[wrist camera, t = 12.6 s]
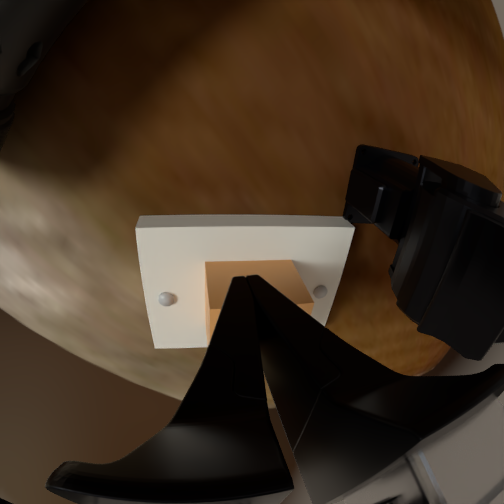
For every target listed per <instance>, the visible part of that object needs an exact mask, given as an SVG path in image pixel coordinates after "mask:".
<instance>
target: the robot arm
mask: <svg viewBox="0 0 504 504" xmlns="http://www.w3.org/2000/svg"><path fill="white" fill-rule="evenodd" d="M362 149H364V153H363V154H362V152H361V151H362ZM413 160H414V162H413ZM412 162H413V163H412ZM418 162H419V163H420V166H419V168H418ZM501 196H502V192H501V191H500V190H499V189H498V188H497V187H496V186H495V185H494V184H493V183H492V182H491V181H490V180H489V179H488V178H487V177H486V176H484V175H482V174H480V173H478V172H475V171H473V170H471V169H469V168H466V167H464V166H462V165H459V164H455V163H451V162H448V161H444V160H440V159H436V158H432V157H427V156H423V155H420V158H419V161H418V158H417V157H415V156H413V155H409V154H405V153H401V152H396V151H392V150H387V149H383V148H378V147H373V146H368V145H359V146H358V147H357V149H356V154H355V159H354V165H353V169H352V171H351V174H350V179H349V184H348V189H347V194H346V198H345V199H346V203H345V208H344V212H343V218H344V219H345V220H348V221H349V222H350V223H371V224H374V225H375V226H377V227H378V228H379V229H380V230H381V231H382V232H383V233H385V234H386V235H387V236H388V237H389V238H390V239H393V240H394V241H395V242H396V243H397V244H398V245H399V246H398V249H397V252H396V255H395V258H394V261H393V264H392V265H390V268H389V271H388V272H389V275H390V277H391V286H392V290H393V292H394V294H395V296H396V298H397V299H398V300H397V302H396V304H397V306H398V307H399V309H400V310H401V311H402V312H403V313H404V314H405V315H406V316H407V317H408V318H410V319H411V320H412V321H413V322H415V323H416V324H418V327H417V331H418V332H420V333H424V334H427V335H431V336H433V337H435V338H437V339H439V340H441V341H443V342H445V343H446V344H448V345H449V346H451V347H452V348H453V349H454V350H456V351H457V352H458V353H460V354H461V355H462V356H463V357H465V358H467V359H472V360H477V361H479V360H482V359H483V358H484V356H485V355H486V354H487V352H488V350H489V349H490V348H491V347H492V345H493V344H501V343H504V202H502V201H500V200H501ZM350 214H351V216H350V217H349V218H348V215H350ZM263 371H264V374H265V377H266V380H267V383H268V386H269V388H270V391H271V394H272V397H273V400H274V403H275V405H276V408H277V411H278V414H279V416H280V419H281V422H282V425H283V427H284V430H285V433H286V435H287V438H288V441H289V444H290V446H291V449H292V451H293V454H294V457H295V460H296V462H297V465H298V468H299V470H300V473H301V476H302V478H303V481H304V483H305V486H306V488H307V491H308V493H309V496H310V498H311V501H312V503H313V504H332V503H335V502H338V501H341V500H344V501H345V504H504V407H503V405H502V404H501V402H500V401H499V399H498V396H499V395H500V394H501V393H502V392H503V391H504V364H494V365H492V366H491V367H490V368H488V369H487V370H485V371H483V372H480V373H477V374H472V375H460V376H407V375H403V374H399V373H397V372H395V371H393V370H391V369H389V368H387V367H386V366H384V365H382V364H381V363H379V362H377V361H376V360H374V359H372V358H371V357H369V356H367V355H365V354H364V353H362V352H361V351H359V350H357V349H356V348H354V347H353V346H351V345H350V344H348V343H346V342H345V341H344V340H342V339H341V338H339V337H338V336H337V335H335V334H334V333H333V332H331V331H330V330H329V329H327V328H325V326H323V325H322V324H321V323H320V322H318V321H317V320H316V319H314V318H313V317H312V316H311V315H309V314H308V313H307V312H305V311H304V310H303V309H302V308H300V307H299V306H298V305H296V304H295V303H294V302H293V301H291V300H290V299H289V298H287V297H286V296H285V295H284V294H282V293H281V292H280V291H278V290H277V289H276V288H275V287H273V286H272V285H271V284H270V283H268V282H267V281H266V280H264V279H263V278H262V277H261V276H259V275H257V274H256V275H247V276H246V277H245V276H234V277H233V278H232V280H231V282H230V285H229V288H228V291H227V294H226V297H225V300H224V302H223V305H222V308H221V311H220V314H219V317H218V320H217V322H216V325H215V328H214V331H213V334H212V337H211V340H210V343H209V345H208V348H207V351H206V354H205V356H204V359H203V361H202V364H201V366H200V368H199V370H198V372H197V374H196V376H195V378H194V380H193V382H192V384H191V386H190V388H189V389H188V391H187V393H186V395H185V397H184V399H183V400H182V402H181V404H180V406H179V408H178V410H177V411H176V413H175V415H174V416H173V418H172V419H171V421H170V422H169V423H168V424H167V426H165V428H163V429H162V430H161V431H159V432H158V433H157V434H155V435H154V436H153V437H151V438H150V439H149V440H148V441H146V442H145V443H143V444H142V445H140V446H139V447H138V448H136V449H135V450H133V451H132V452H131V453H129V454H128V455H126V456H125V457H123V458H121V459H120V460H117V461H115V462H112V463H106V464H93V463H86V462H79V461H66V462H63V463H62V464H61V465H60V466H59V467H58V468H57V469H55V470H54V471H53V472H52V474H51V475H50V476H49V478H48V480H47V482H46V485H45V487H46V488H47V490H49V491H50V492H52V493H54V494H57V495H59V496H61V497H63V498H66V499H68V500H70V501H73V502H75V503H78V504H280V503H281V502H282V501H283V500H284V499H285V498H286V497H287V496H288V495H289V494H290V493H291V491H293V489H294V485H293V480H292V477H291V475H290V472H289V469H288V467H287V464H286V461H285V459H284V456H283V453H282V451H281V448H280V445H279V442H278V440H277V437H276V434H275V432H274V429H273V426H272V423H271V421H270V416H269V411H268V405H267V397H266V389H265V381H264V374H263ZM0 504H12V503H10V502H8V501H6V500H4V499H1V498H0Z"/></svg>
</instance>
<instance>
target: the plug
mask: <svg viewBox="0 0 504 504" xmlns="http://www.w3.org/2000/svg"><path fill="white" fill-rule="evenodd" d="M256 274H257V275H259V276H261V277H262V278H263V279H264V280H266V281H267V282H268V283H270V284H271V285H272V286H273V287H275V288H276V289H277V290H278V291H280V292H281V293H282V294H284V295H285V296H286V297H287V298H289V299H290V300H291V301H293V302H294V303H295V304H296V305H298V306H299V307H300V308H302V309H303V310H304V311H305V312H307V313H308V314H309V315H311V313H312V309H313V306H314V301H313V299H312V297H311V295H310V293H309V292H308V290H307V288H306V286H305V284H304V282H303V280H302V279H301V277H300V275H299V273H298V271H297V269H296V268H295V266H294V264H293V262H292V260H258V261H213V262H205V326H206V336H207V346H208V345H209V343H210V340H211V337H212V334H213V331H214V328H215V325H216V322H217V320H218V317H219V314H220V311H221V308H222V305H223V302H224V300H225V297H226V294H227V291H228V288H229V285H230V282H231V280H232V278H233V277H234V276H245V277H246V276H247V275H256Z"/></svg>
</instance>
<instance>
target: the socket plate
mask: <svg viewBox="0 0 504 504" xmlns="http://www.w3.org/2000/svg"><path fill="white" fill-rule="evenodd" d="M135 229H136V239H137V247H138V255H139V263H140V270H141V277H142V283H143V289H144V295H145V301H146V307H147V312H148V317H149V322H150V327H151V332H152V337H153V341H154V346H155V348H196V347H208V346H207V336H206V326H205V262H213V261H258V260H292V262H293V264H294V266H295V268H296V269H297V271H298V273H299V275H300V277H301V279H302V280H303V282H304V284H305V286H306V288H307V290H308V292H309V293H310V295H311V297H312V299H313V301H314V306H313V309H312V313H311V316H312V317H313V318H314V319H316V320H317V321H318V322H320V323H321V324H322V325H323V326H325V324H326V321H327V318H328V316H329V313H330V310H331V307H332V304H333V301H334V298H335V295H336V291H337V288H338V285H339V282H340V279H341V275H342V272H343V269H344V265H345V262H346V259H347V255H348V252H349V248H350V245H351V241H352V237H353V234H354V230H355V227H354V226H353V225H352V224H351V223H350V222H349V221H348V220H345V219H344V218H343V217H335V216H303V215H153V216H140V217H139V220H138V222H137V225H136V228H135Z"/></svg>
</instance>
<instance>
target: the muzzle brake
mask: <svg viewBox="0 0 504 504" xmlns="http://www.w3.org/2000/svg"><path fill="white" fill-rule="evenodd" d="M87 1H88V0H0V151H1V148H2V145H3V143H4V141H5V138H6V136H7V133H8V131H9V129H10V126H11V124H12V122H13V119H14V110H15V102H14V99H13V97H14V95H15V93H16V92H18V91H20V90H22V89H23V88H24V87H26V85H27V84H28V83H29V81H30V80H31V78H32V76H33V74H34V73H35V71H36V69H37V68H38V66H39V65H40V63H41V61H42V60H43V58H44V57H45V55H46V54H47V52H48V51H49V49H50V48H51V46H52V45H53V44H54V42H55V41H56V39H57V38H58V37H59V35H60V34H61V33H62V31H63V30H64V29H65V27H66V26H67V25H68V24H69V22H70V21H71V20H72V19H73V17H74V16H75V15H76V14H77V13H78V11H79V10H80V9H81V8H82V7H83V6H84V4H85V3H86V2H87Z"/></svg>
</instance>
